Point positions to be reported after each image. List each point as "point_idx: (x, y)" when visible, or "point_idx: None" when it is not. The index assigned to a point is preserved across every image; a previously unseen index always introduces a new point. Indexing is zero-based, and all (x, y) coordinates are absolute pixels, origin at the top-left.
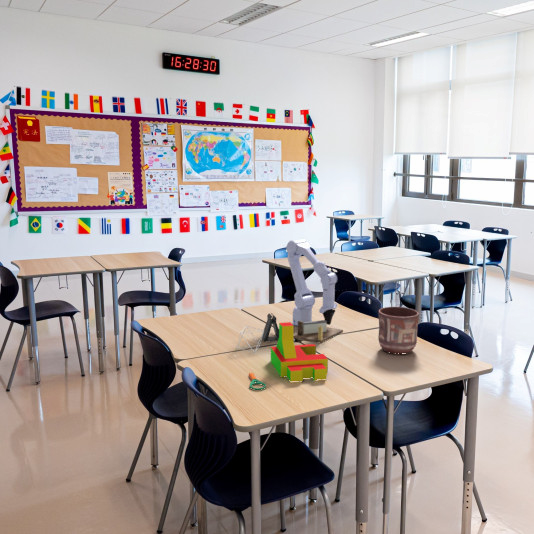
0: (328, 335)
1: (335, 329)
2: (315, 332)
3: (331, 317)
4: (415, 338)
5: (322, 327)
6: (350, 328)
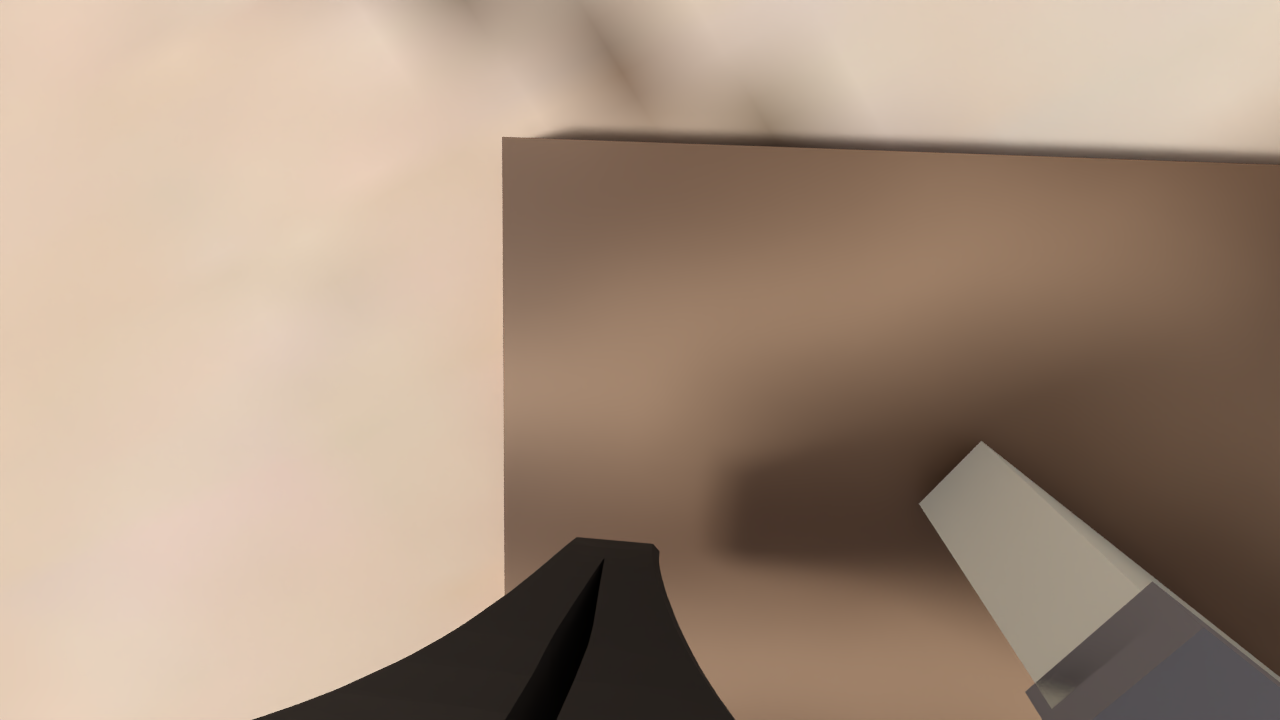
0: (1252, 256)
1: (574, 339)
2: (1244, 650)
3: (538, 648)
4: None
5: None
6: (126, 112)
